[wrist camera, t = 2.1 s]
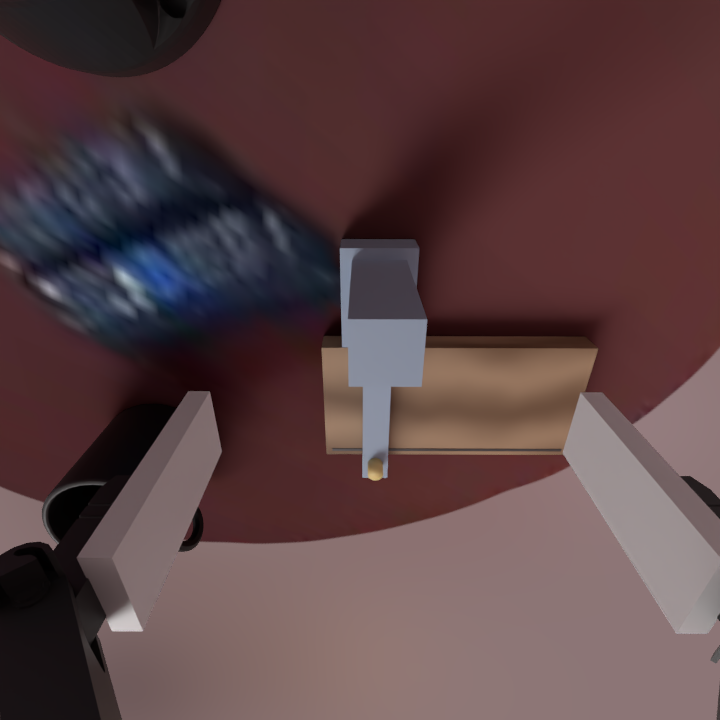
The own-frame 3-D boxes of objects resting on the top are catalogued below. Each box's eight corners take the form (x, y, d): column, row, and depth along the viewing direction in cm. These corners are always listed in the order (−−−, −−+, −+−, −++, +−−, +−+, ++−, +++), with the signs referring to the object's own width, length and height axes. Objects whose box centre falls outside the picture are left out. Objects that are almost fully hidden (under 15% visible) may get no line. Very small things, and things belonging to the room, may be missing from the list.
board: (323, 335, 32) (321, 348, 30) (585, 336, 32) (598, 348, 30) (328, 438, 37) (326, 454, 35) (555, 439, 37) (565, 455, 35)
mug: (178, 513, 42) (135, 604, 34) (86, 429, 37) (10, 512, 29) (256, 479, 39) (229, 567, 31) (169, 384, 34) (111, 461, 26)
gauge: (341, 239, 29) (330, 303, 18) (414, 239, 29) (445, 303, 18) (345, 447, 37) (339, 571, 27) (401, 447, 37) (417, 572, 27)
